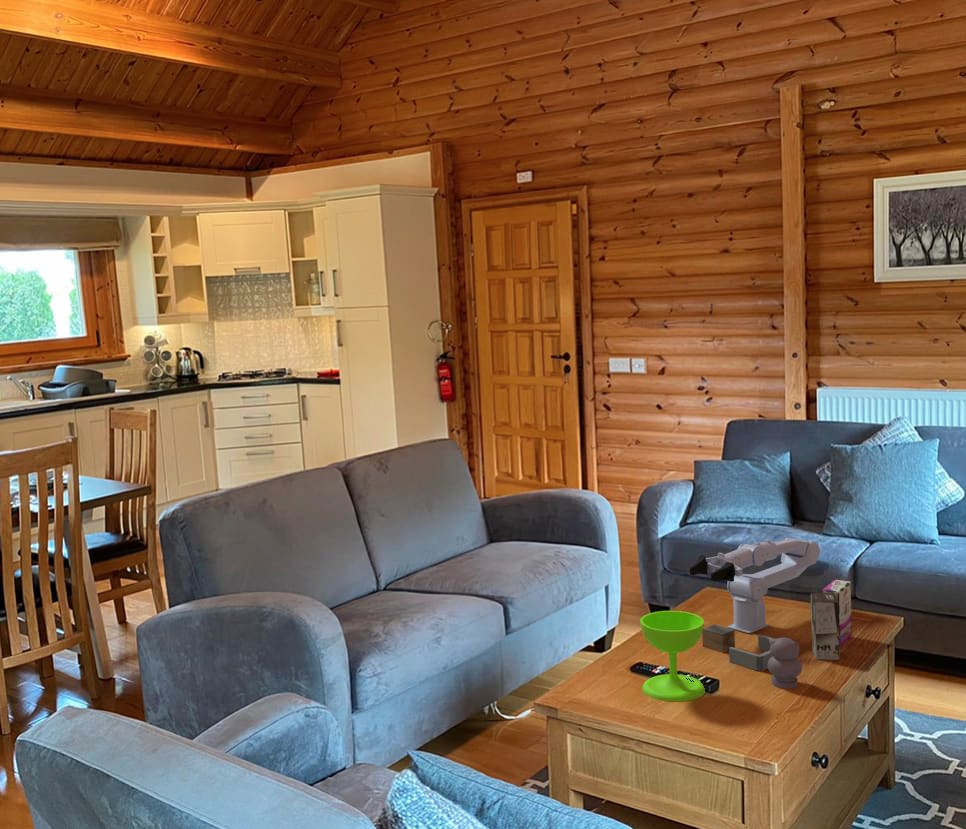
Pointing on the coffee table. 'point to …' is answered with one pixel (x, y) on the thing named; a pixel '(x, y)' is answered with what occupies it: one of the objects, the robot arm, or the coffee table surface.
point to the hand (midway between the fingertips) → (701, 574)
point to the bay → (752, 655)
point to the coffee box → (825, 625)
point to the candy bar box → (842, 607)
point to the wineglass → (672, 653)
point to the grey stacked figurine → (784, 663)
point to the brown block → (718, 638)
